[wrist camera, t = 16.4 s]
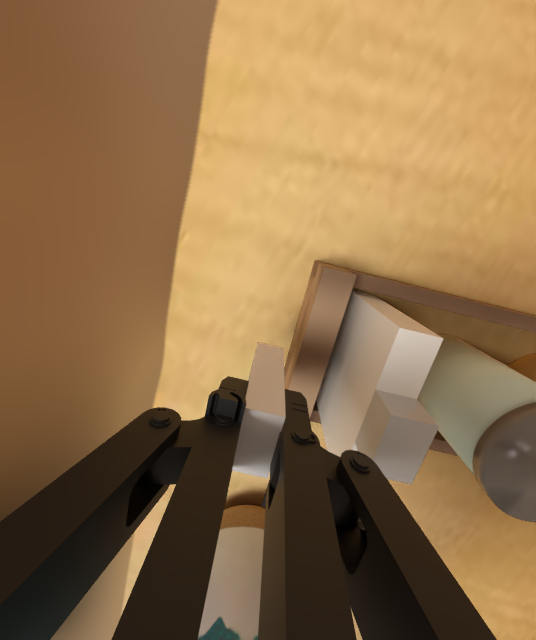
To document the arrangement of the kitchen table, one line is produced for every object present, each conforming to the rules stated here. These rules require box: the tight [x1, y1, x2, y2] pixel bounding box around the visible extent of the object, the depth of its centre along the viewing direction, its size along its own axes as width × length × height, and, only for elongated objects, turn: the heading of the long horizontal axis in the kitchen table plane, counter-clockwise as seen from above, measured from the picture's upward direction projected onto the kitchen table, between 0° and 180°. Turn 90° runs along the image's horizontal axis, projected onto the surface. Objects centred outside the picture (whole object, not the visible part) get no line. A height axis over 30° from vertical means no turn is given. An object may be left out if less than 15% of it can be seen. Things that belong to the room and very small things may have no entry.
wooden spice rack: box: [284, 261, 536, 456], centre depth 21 cm, size 12×26×6 cm, turn 76°
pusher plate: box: [316, 289, 444, 484], centre depth 18 cm, size 9×2×12 cm, turn 166°
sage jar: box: [417, 334, 536, 522], centre depth 19 cm, size 6×6×11 cm
